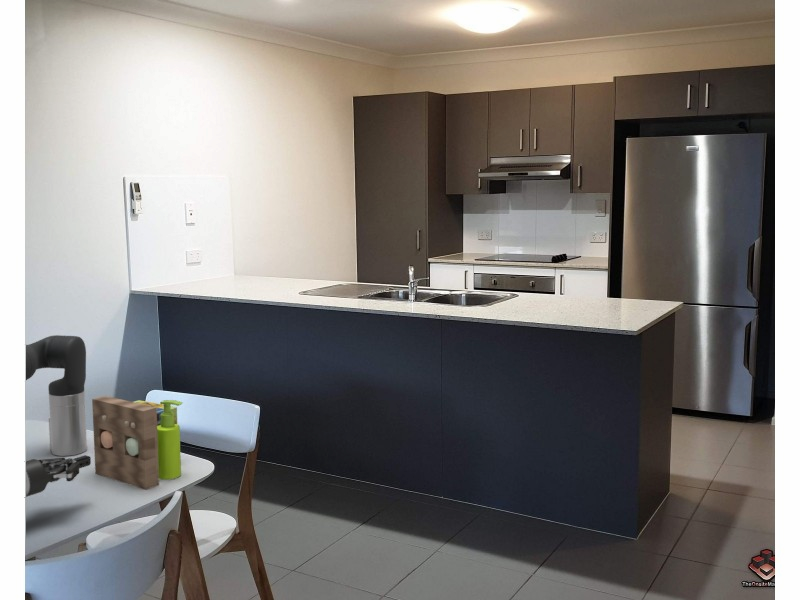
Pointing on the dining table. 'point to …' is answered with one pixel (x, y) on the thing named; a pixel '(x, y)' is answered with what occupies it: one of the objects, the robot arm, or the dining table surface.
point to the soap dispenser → (169, 443)
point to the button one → (107, 439)
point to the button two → (132, 446)
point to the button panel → (125, 424)
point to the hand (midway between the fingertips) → (88, 459)
